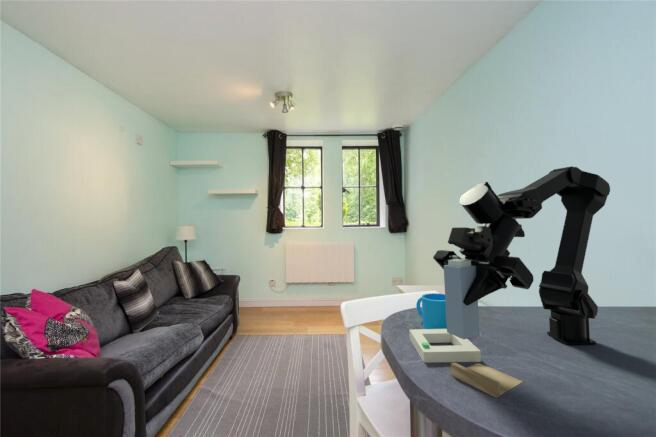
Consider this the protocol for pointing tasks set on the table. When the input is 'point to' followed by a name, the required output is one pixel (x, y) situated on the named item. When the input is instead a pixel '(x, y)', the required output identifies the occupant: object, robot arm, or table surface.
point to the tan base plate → (485, 378)
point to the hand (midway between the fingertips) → (455, 301)
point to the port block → (456, 353)
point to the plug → (460, 299)
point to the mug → (433, 311)
